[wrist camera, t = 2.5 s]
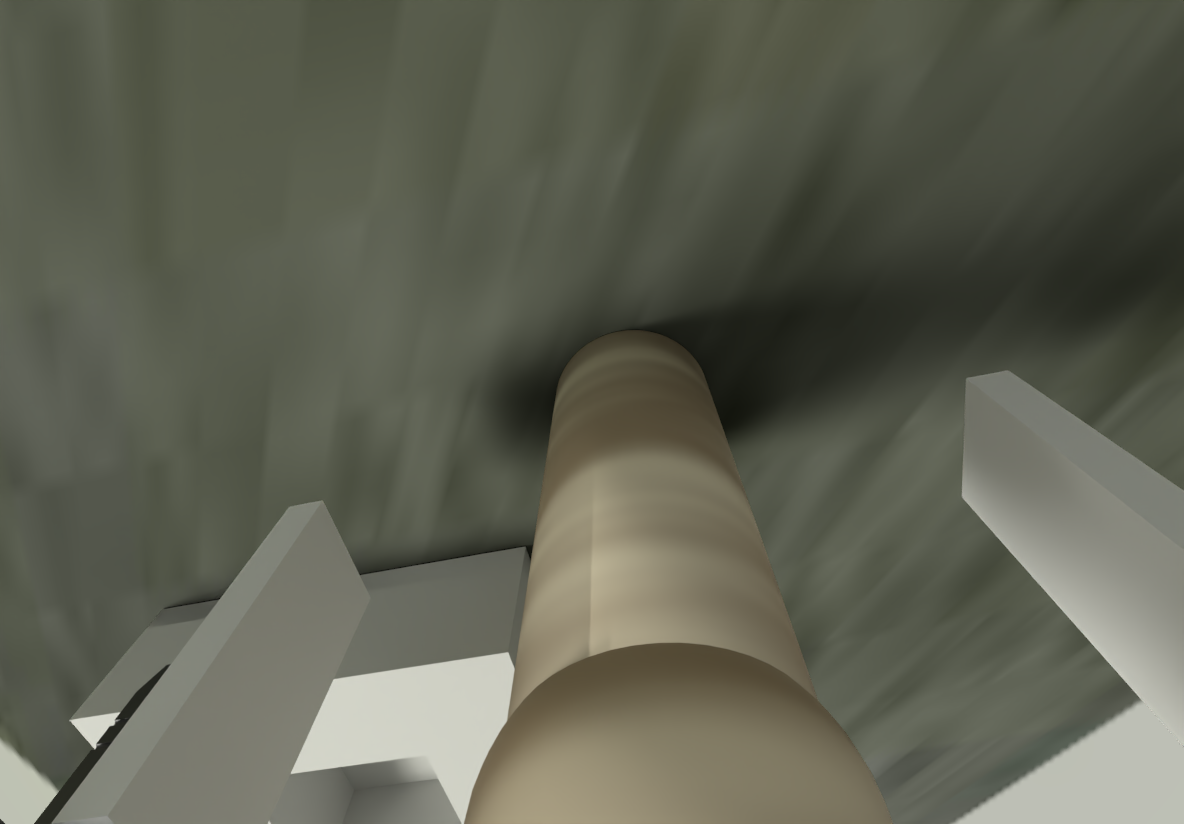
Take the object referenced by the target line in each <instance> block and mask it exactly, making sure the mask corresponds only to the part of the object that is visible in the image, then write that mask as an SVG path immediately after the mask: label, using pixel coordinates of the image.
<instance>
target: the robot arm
mask: <svg viewBox="0 0 1184 824" xmlns="http://www.w3.org/2000/svg"><path fill="white" fill-rule="evenodd" d="M962 498H963V499H964V500H965V501H966V502H967V503H968V505H969V506H970V507H971V508H972V509H973V510H974V511H975V512H976V514H977V515H978V516H979V517H980V518H981V519H982V520H983V521H984V523H985V524H986V525H987V526H988V527H989V528H990V529H991V530H992V532H993V533H994V534H995V535H996V536H997V537H998V538H999V539H1000V541H1001V542H1002V543H1003V544H1004V545H1005V546H1006V547H1007V549H1008V550H1009V551H1010V552H1011V553H1012V554H1013V555H1014V556H1015V558H1016V559H1017V560H1018V561H1019V562H1020V563H1021V564H1022V565H1023V567H1024V568H1025V569H1026V570H1027V571H1028V572H1029V573H1030V574H1031V576H1032V577H1033V578H1034V579H1035V580H1036V581H1037V582H1038V583H1039V585H1040V586H1041V587H1042V588H1043V589H1044V590H1045V591H1046V593H1047V594H1048V595H1049V596H1050V597H1051V598H1052V599H1053V600H1054V602H1055V603H1056V604H1057V605H1058V606H1059V607H1060V608H1061V609H1062V611H1063V612H1064V613H1065V614H1066V615H1067V616H1068V617H1069V618H1070V620H1071V621H1072V622H1073V623H1074V624H1075V625H1076V626H1077V627H1078V629H1079V630H1080V631H1081V632H1082V633H1083V634H1084V635H1085V637H1086V638H1087V639H1088V640H1089V641H1090V642H1091V643H1092V644H1093V646H1094V647H1095V648H1096V649H1097V650H1098V651H1099V652H1100V653H1101V655H1102V656H1103V657H1104V658H1105V659H1106V660H1107V661H1108V662H1109V664H1110V665H1111V666H1112V667H1113V668H1114V669H1115V670H1116V671H1117V673H1118V674H1119V675H1120V676H1121V677H1122V678H1123V679H1124V680H1125V682H1126V683H1127V684H1128V685H1129V686H1130V687H1131V688H1132V690H1133V691H1134V692H1135V693H1136V694H1137V695H1138V696H1139V697H1140V699H1141V700H1142V701H1143V702H1144V703H1145V704H1146V705H1147V706H1148V708H1149V709H1150V710H1151V711H1152V712H1153V713H1154V714H1155V715H1156V717H1157V718H1158V719H1159V720H1160V721H1161V722H1162V723H1163V724H1164V726H1165V727H1166V728H1167V729H1168V730H1169V731H1170V732H1171V734H1172V735H1173V736H1174V737H1175V738H1176V739H1177V740H1178V741H1179V743H1180V744H1181V745H1182V746H1183V747H1184V491H1183V490H1182V489H1180V488H1179V487H1178V486H1176V485H1175V484H1173V483H1172V482H1170V481H1169V480H1167V479H1166V478H1164V477H1163V476H1162V475H1160V474H1159V473H1157V472H1156V471H1154V470H1153V469H1151V468H1150V467H1148V466H1147V465H1146V464H1144V463H1143V462H1141V461H1140V460H1138V459H1137V458H1135V457H1134V456H1132V455H1131V454H1130V453H1128V452H1127V451H1125V450H1124V449H1122V448H1121V447H1119V446H1118V445H1116V444H1115V443H1114V442H1112V441H1111V440H1109V439H1108V438H1106V437H1105V436H1103V435H1102V434H1100V433H1099V432H1097V431H1096V430H1095V429H1093V428H1092V427H1090V426H1089V425H1087V424H1086V423H1084V422H1083V421H1081V420H1080V419H1079V418H1077V417H1076V416H1074V415H1073V414H1071V413H1070V412H1068V411H1067V410H1065V409H1064V408H1063V407H1061V406H1060V405H1058V404H1057V403H1055V402H1054V401H1052V400H1051V399H1049V398H1048V397H1047V396H1045V395H1044V394H1042V393H1041V392H1039V391H1038V390H1036V389H1035V388H1033V387H1032V386H1031V385H1029V384H1028V383H1026V382H1025V381H1023V380H1022V379H1020V378H1019V377H1017V376H1016V375H1015V374H1013V373H1012V372H1010V371H1009V370H1007V371H1002V372H996V373H991V374H986V375H980V376H975V377H970V378H966V392H965V422H964V451H963V480H962ZM370 598H371V597H370V595H369V593H368V591H367V589H366V587H365V585H364V583H363V581H362V579H361V577H360V575H359V573H358V571H357V569H356V567H355V565H354V563H353V561H352V559H351V557H350V555H349V553H348V551H347V549H346V547H345V545H344V543H343V540H342V538H341V536H340V534H339V532H338V530H337V528H336V526H335V524H334V522H333V520H332V518H331V516H330V514H329V512H328V510H327V508H326V506H325V504H324V502H323V500H322V501H317V502H312V503H306V504H301V505H296V506H291V507H289V508H288V509H287V511H286V512H285V513H284V515H283V516H282V517H281V519H280V520H279V521H278V523H277V524H276V525H275V527H274V528H273V529H272V530H271V532H270V533H269V534H268V536H267V537H266V538H265V540H264V541H263V542H262V544H261V545H260V546H259V548H258V549H257V550H256V552H255V553H254V554H253V556H252V557H251V558H250V560H249V561H248V562H247V564H246V565H245V566H244V568H243V569H242V570H241V572H240V573H239V574H238V576H237V577H236V578H235V580H234V581H233V582H232V584H231V585H230V586H229V588H228V589H227V590H226V592H225V593H224V594H223V596H222V597H221V598H220V600H219V601H218V602H217V604H216V605H215V606H214V608H213V609H212V610H211V612H210V613H209V614H208V616H207V617H206V618H205V620H204V621H203V622H202V624H201V625H200V626H199V628H198V629H197V630H196V632H195V633H194V634H193V636H192V637H191V638H190V640H189V641H188V642H187V643H186V645H185V646H184V647H183V649H182V650H181V651H180V653H179V654H178V655H177V657H176V658H175V659H174V661H173V662H172V663H171V664H169V665H166V666H165V667H164V668H163V669H161V670H160V671H159V672H158V673H157V674H156V675H155V676H154V677H152V678H151V679H150V680H149V681H148V682H147V683H146V684H144V685H143V686H142V687H141V688H140V689H139V690H138V691H137V692H136V693H135V694H134V696H133V697H132V698H131V699H130V701H129V702H128V703H127V705H126V706H125V707H124V708H123V710H122V711H121V712H120V714H119V715H118V716H117V717H116V719H115V720H114V721H115V724H114V725H113V726H109V728H108V729H107V730H106V732H105V733H104V734H103V736H102V737H101V738H100V739H99V741H98V742H97V743H96V749H95V750H91V751H90V752H89V754H88V755H87V756H86V757H85V759H84V760H83V761H82V763H81V764H80V765H79V766H78V768H77V769H76V770H75V772H74V773H73V774H72V776H71V777H70V778H69V779H68V781H67V782H66V783H65V785H64V786H63V787H62V788H61V790H60V791H59V792H58V794H57V795H56V796H55V797H54V799H53V800H52V802H51V803H50V804H49V805H48V807H47V808H46V809H45V810H44V812H43V813H42V814H41V816H40V817H39V818H38V819H37V821H36V822H35V823H34V824H268V822H269V820H270V817H271V815H272V813H273V811H274V809H275V807H276V804H277V802H278V800H279V798H280V796H281V793H282V791H283V789H284V787H285V785H286V782H287V780H288V778H289V776H290V774H291V771H292V769H293V767H294V765H295V763H296V760H297V758H298V756H299V754H300V752H301V750H302V747H303V745H304V743H305V741H306V739H307V736H308V734H309V732H310V730H311V728H312V725H313V723H314V721H315V719H316V717H317V714H318V712H319V710H320V708H321V706H322V704H323V701H324V699H325V697H326V695H327V693H328V690H329V688H330V686H331V684H332V682H333V679H334V677H335V675H336V673H337V671H338V668H339V666H340V664H341V662H342V660H343V658H344V655H345V653H346V651H347V649H348V647H349V644H350V642H351V640H352V638H353V636H354V633H355V631H356V629H357V627H358V625H359V622H360V620H361V618H362V616H363V614H364V611H365V609H366V607H367V605H368V603H369V601H370ZM0 824H5V823H4V822H3V821H2V820H1V819H0Z"/></svg>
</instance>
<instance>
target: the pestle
mask: <svg viewBox="0 0 1184 824" xmlns="http://www.w3.org/2000/svg"><path fill="white" fill-rule="evenodd" d="M464 824H893V823H892V820H891V817H890V814H889V811H888V809H887V806H886V804H885V801H884V799H883V797H882V794H881V792H880V790H879V788H878V786H877V784H876V782H875V780H874V777H873V775H872V773H871V771H870V770H869V768H868V767H867V765H866V763H865V762H864V760H863V759H862V757H861V755H860V754H859V752H858V751H857V749H856V748H855V746H854V744H853V743H852V741H851V740H850V738H849V737H848V735H847V734H846V732H845V731H844V730H843V729H842V727H841V726H840V725H839V724H838V723H837V722H836V720H835V719H834V718H833V717H832V716H831V714H830V713H829V712H828V711H827V710H826V709H825V708H824V707H823V706H822V705H821V704H820V703H819V701H818V699H817V696H816V693H815V690H814V687H813V684H812V682H811V679H810V676H809V673H808V670H807V667H806V664H805V662H804V659H803V656H802V653H801V650H800V647H799V644H798V642H797V639H796V636H795V633H794V630H793V627H792V624H791V622H790V619H789V616H788V613H787V610H786V607H785V604H784V602H783V599H782V596H781V593H780V590H779V587H778V584H777V582H776V579H775V576H774V573H773V570H772V567H771V564H770V562H769V559H768V556H767V553H766V550H765V547H764V545H763V542H762V539H761V536H760V533H759V530H758V527H757V525H756V522H755V519H754V516H753V513H752V510H751V507H750V505H749V502H748V499H747V496H746V493H745V490H744V487H743V485H742V482H741V479H740V476H739V473H738V470H737V467H736V465H735V462H734V459H733V456H732V453H731V450H730V447H729V445H728V442H727V439H726V436H725V433H724V430H723V427H722V425H721V422H720V419H719V416H718V413H717V410H716V408H715V405H714V402H713V399H712V396H711V393H710V390H709V388H708V385H707V382H706V379H705V376H704V374H703V371H702V369H701V368H700V366H699V364H698V362H697V361H696V360H695V358H694V357H693V356H692V355H691V354H690V353H689V352H688V351H687V350H686V349H685V348H684V347H683V346H681V345H680V344H678V343H677V342H675V341H674V340H672V339H670V338H668V337H665V336H663V335H660V334H657V333H653V332H649V331H641V330H625V331H619V332H614V333H610V334H607V335H604V336H602V337H599V338H597V339H595V340H593V341H591V342H590V343H588V344H587V345H585V346H584V347H583V348H581V349H580V350H579V351H578V352H577V353H576V354H575V355H574V356H573V357H572V358H571V359H570V361H569V362H568V363H567V365H566V367H565V368H564V370H563V372H562V374H561V377H560V379H559V382H558V386H557V391H556V397H555V404H554V411H553V417H552V424H551V431H550V437H549V444H548V451H547V457H546V464H545V471H544V477H543V484H542V491H541V497H540V504H539V511H538V517H537V524H536V531H535V537H534V544H533V551H532V557H531V564H530V571H529V577H528V584H527V591H526V597H525V604H524V611H523V617H522V624H521V631H520V637H519V644H518V651H517V657H516V664H515V671H514V677H513V684H512V691H511V697H510V704H509V711H508V717H507V722H506V723H505V725H504V726H503V727H502V729H501V731H500V732H499V734H498V736H497V738H496V739H495V741H494V743H493V745H492V746H491V748H490V750H489V752H488V754H487V756H486V758H485V760H484V762H483V764H482V767H481V769H480V772H479V774H478V777H477V779H476V782H475V784H474V787H473V789H472V793H471V797H470V801H469V805H468V809H467V813H466V817H465V821H464Z"/></svg>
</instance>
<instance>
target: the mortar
mask: <svg viewBox="0 0 1184 824" xmlns="http://www.w3.org/2000/svg"><path fill="white" fill-rule="evenodd" d="M530 564H531V561H530V558H529V555H528V552H527V549H526V546H525V547H520V548H514V549H508V550H502V551H496V552H491V553H485V554H479V555H473V556H468V557H462V558H456V559H450V560H445V561H439V562H433V563H427V564H421V565H416V566H410V567H404V568H398V569H393V570H387V571H381V572H375V573H370V574H364V575H360V577H361V579H362V581H363V583H364V585H365V587H366V589H367V591H368V593H369V595H370V597H371V598H370V601H369V603H368V605H367V607H366V609H365V611H364V614H363V616H362V618H361V620H360V622H359V625H358V627H357V629H356V631H355V633H354V636H353V638H352V640H351V642H350V644H349V647H348V649H347V651H346V653H345V655H344V658H343V660H342V662H341V664H340V666H339V668H338V671H337V673H336V675H335V677H334V679H333V682H332V684H331V686H330V688H329V690H328V693H327V695H326V697H325V699H324V701H323V704H322V706H321V708H320V710H319V712H318V714H317V717H316V719H315V721H314V723H313V725H312V728H311V730H310V732H309V734H308V736H307V739H306V741H305V743H304V745H303V747H302V750H301V752H300V754H299V756H298V758H297V760H296V763H295V765H294V767H293V769H292V771H291V774H290V776H289V778H288V780H287V782H286V785H285V787H284V789H283V791H282V793H281V796H280V798H279V800H278V802H277V804H276V807H275V809H274V811H273V813H272V815H271V817H270V820H269V822H268V824H464V821H465V817H466V813H467V809H468V805H469V801H470V797H471V793H472V789H473V787H474V784H475V782H476V779H477V777H478V774H479V772H480V769H481V767H482V764H483V762H484V760H485V758H486V756H487V754H488V752H489V750H490V748H491V746H492V745H493V743H494V741H495V739H496V738H497V736H498V734H499V732H500V731H501V729H502V727H503V726H504V725H505V723H506V722H507V717H508V711H509V704H510V697H511V691H512V684H513V677H514V671H515V664H516V657H517V651H518V644H519V637H520V631H521V624H522V617H523V611H524V604H525V597H526V591H527V584H528V577H529V571H530ZM218 601H219V600H214V601H208V602H202V603H197V604H191V605H185V606H179V607H173V608H168V609H162V610H161V612H160V613H159V614H158V615H157V616H156V618H155V619H154V620H153V621H152V622H151V624H150V625H149V626H148V627H147V628H146V629H145V631H144V632H143V633H142V634H141V635H140V637H139V638H138V639H137V640H136V641H135V643H134V644H133V645H132V646H131V647H130V649H129V650H128V651H127V652H126V653H125V654H124V656H123V657H122V658H121V659H120V660H119V662H118V663H117V664H116V665H115V666H114V668H113V669H112V670H111V671H110V672H109V674H108V675H107V676H106V677H105V678H104V680H103V681H102V682H101V683H100V684H99V685H98V687H97V688H96V689H95V690H94V691H93V693H92V694H91V695H90V696H89V697H88V699H87V700H86V701H85V702H84V703H83V705H82V706H81V707H80V708H79V709H78V710H77V712H76V713H75V714H74V715H73V716H72V718H71V719H70V721H71V722H72V723H73V725H74V726H75V727H76V728H77V729H78V730H79V731H80V733H81V734H82V735H83V736H84V737H85V738H86V740H87V741H88V742H89V743H90V744H91V745H92V746H93V748H94V749H96V743H97V742H98V741H99V739H100V738H101V737H102V736H103V734H104V733H105V732H106V730H107V729H108V728H109V726H113V725H114V724H115V721H114V720H115V719H116V717H117V716H118V715H119V714H120V712H121V711H122V710H123V708H124V707H125V706H126V705H127V703H128V702H129V701H130V699H131V698H132V697H133V696H134V694H135V693H136V692H137V691H138V690H139V689H140V688H141V687H142V686H143V685H144V684H146V683H147V682H148V681H149V680H150V679H151V678H152V677H154V676H155V675H156V674H157V673H158V672H159V671H160V670H161V669H163V668H164V667H165V666H166V665H169V664H171V663H172V662H173V661H174V659H175V658H176V657H177V655H178V654H179V653H180V651H181V650H182V649H183V647H184V646H185V645H186V643H187V642H188V641H189V640H190V638H191V637H192V636H193V634H194V633H195V632H196V630H197V629H198V628H199V626H200V625H201V624H202V622H203V621H204V620H205V618H206V617H207V616H208V614H209V613H210V612H211V610H212V609H213V608H214V606H215V605H216V604H217V602H218Z"/></svg>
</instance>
